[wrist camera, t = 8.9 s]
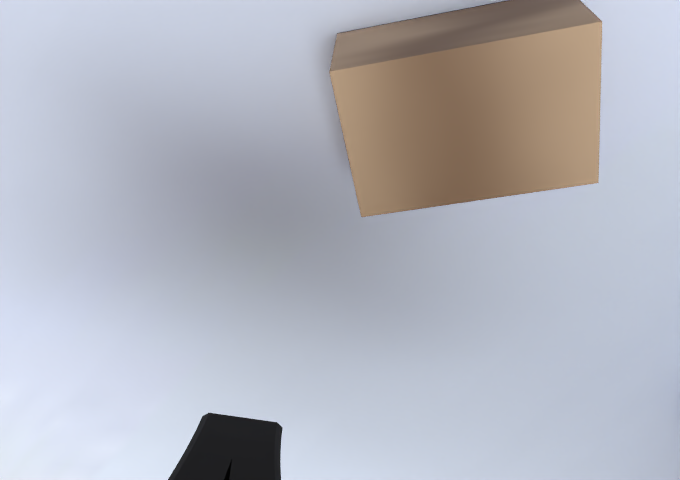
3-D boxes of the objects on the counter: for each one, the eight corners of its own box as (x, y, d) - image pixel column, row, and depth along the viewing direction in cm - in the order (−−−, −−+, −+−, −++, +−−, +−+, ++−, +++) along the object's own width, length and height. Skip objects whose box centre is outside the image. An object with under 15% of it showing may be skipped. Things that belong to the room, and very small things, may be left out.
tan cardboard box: (568, -12, 16) (601, 21, 14) (568, 132, 18) (598, 182, 16) (337, 33, 17) (329, 71, 14) (364, 164, 19) (361, 217, 17)
